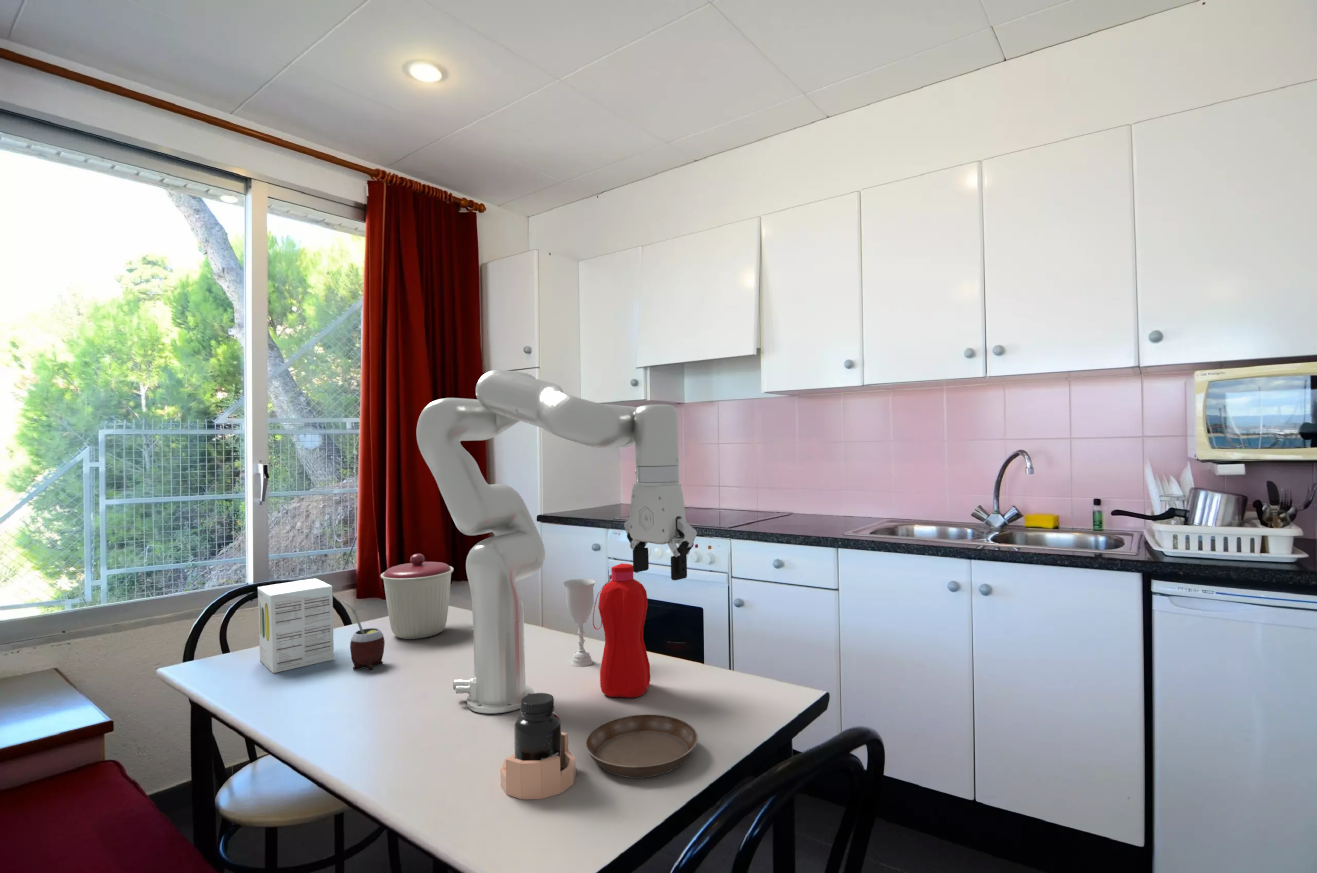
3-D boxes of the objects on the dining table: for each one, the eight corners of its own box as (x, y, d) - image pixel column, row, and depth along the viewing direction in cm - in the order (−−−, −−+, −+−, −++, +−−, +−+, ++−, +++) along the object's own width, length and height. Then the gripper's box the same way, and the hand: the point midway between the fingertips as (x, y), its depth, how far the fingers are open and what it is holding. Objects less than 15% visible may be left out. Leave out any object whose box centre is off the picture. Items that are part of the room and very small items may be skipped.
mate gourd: (388, 667, 150) (386, 600, 150) (349, 675, 145) (347, 606, 145) (380, 658, 156) (378, 594, 156) (343, 666, 152) (342, 600, 152)
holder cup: (493, 800, 93) (492, 764, 93) (511, 763, 104) (510, 730, 104) (569, 798, 93) (568, 762, 93) (579, 761, 104) (578, 729, 104)
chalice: (604, 660, 150) (601, 580, 150) (585, 670, 145) (582, 587, 145) (578, 655, 154) (576, 577, 154) (559, 664, 148) (556, 583, 148)
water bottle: (601, 680, 138) (598, 559, 138) (653, 683, 136) (649, 560, 136) (587, 698, 129) (584, 568, 129) (643, 701, 127) (639, 569, 127)
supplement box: (258, 660, 157) (256, 586, 157) (318, 647, 166) (316, 577, 166) (272, 674, 148) (269, 595, 148) (335, 659, 156) (333, 585, 156)
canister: (367, 643, 168) (365, 560, 168) (406, 623, 186) (404, 548, 186) (434, 645, 165) (431, 560, 165) (467, 624, 183) (464, 548, 183)
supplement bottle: (552, 794, 94) (550, 709, 94) (507, 790, 96) (505, 706, 96) (568, 770, 101) (566, 690, 101) (526, 766, 102) (524, 688, 102)
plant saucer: (607, 797, 94) (607, 775, 94) (572, 745, 110) (571, 726, 110) (718, 768, 101) (718, 748, 101) (669, 724, 117) (669, 706, 117)
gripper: (609, 475, 119) (611, 571, 119) (676, 479, 106) (678, 586, 107) (640, 473, 124) (642, 565, 124) (708, 476, 112) (711, 578, 112)
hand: (659, 574), depth 115 cm, fingers open, 9 cm apart
